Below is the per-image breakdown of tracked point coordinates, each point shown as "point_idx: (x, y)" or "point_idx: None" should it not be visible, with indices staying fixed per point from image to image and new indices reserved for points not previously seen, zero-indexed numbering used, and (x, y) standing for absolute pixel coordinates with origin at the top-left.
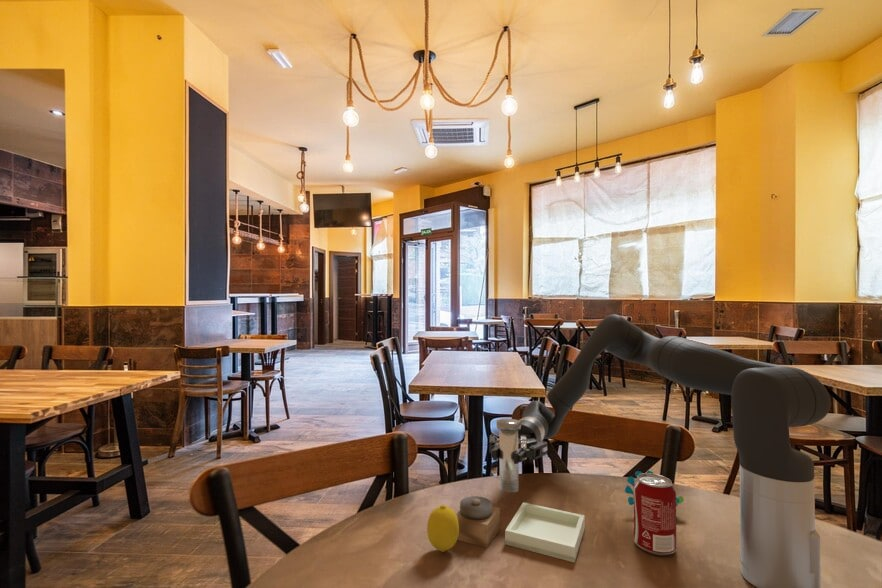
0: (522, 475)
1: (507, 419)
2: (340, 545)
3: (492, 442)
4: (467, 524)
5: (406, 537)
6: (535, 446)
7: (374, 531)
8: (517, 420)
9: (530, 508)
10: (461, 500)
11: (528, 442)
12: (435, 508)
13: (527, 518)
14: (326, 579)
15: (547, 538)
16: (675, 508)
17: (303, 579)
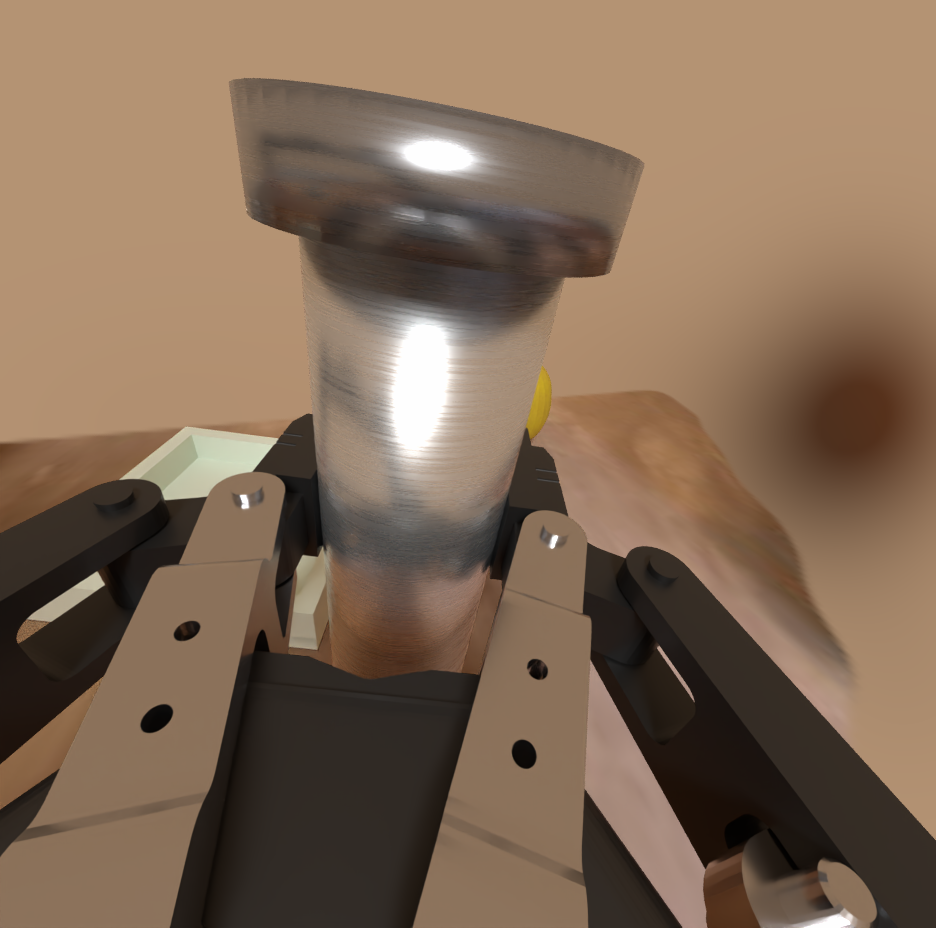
0: None
1: (517, 129)
2: (673, 435)
3: (642, 552)
4: None
5: (601, 466)
6: (31, 544)
7: (673, 469)
8: (288, 85)
9: None
10: None
11: (32, 795)
12: (542, 366)
13: (301, 583)
14: (610, 393)
15: (256, 442)
16: None
17: (633, 392)
